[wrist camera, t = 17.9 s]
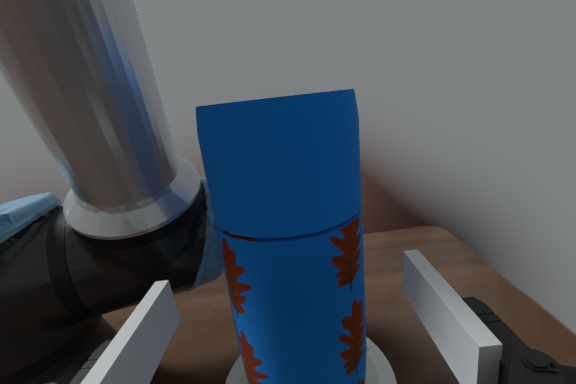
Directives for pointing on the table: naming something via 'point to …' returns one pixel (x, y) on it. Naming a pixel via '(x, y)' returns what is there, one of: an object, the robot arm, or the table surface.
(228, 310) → the table surface
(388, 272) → the table surface
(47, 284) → the robot arm
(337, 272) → the thermos
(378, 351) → the levelling base
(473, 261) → the table surface
